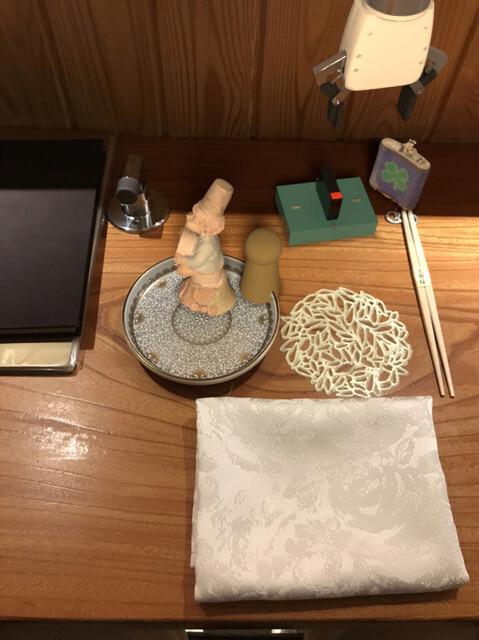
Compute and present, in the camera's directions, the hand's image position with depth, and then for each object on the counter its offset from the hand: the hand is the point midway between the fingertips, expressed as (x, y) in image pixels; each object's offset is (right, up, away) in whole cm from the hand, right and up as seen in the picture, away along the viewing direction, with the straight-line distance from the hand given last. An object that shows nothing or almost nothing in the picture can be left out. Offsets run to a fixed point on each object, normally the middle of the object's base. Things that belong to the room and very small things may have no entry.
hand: (368, 118), depth 77 cm
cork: (-15, -23, +7) cm, 28 cm away
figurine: (-22, -24, +6) cm, 33 cm away
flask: (+8, -6, +18) cm, 21 cm away
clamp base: (-4, -11, +15) cm, 18 cm away
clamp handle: (-4, -9, +12) cm, 15 cm away
